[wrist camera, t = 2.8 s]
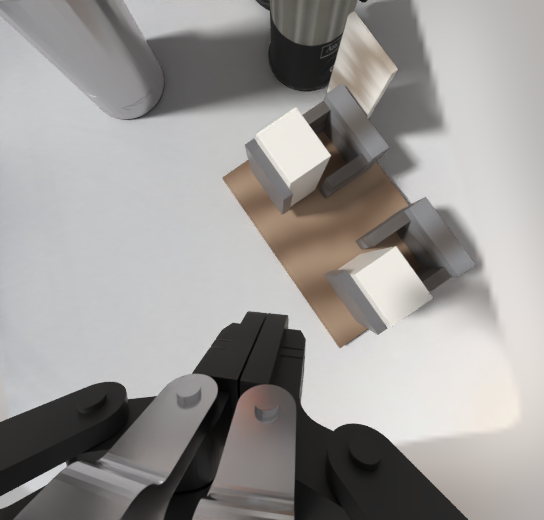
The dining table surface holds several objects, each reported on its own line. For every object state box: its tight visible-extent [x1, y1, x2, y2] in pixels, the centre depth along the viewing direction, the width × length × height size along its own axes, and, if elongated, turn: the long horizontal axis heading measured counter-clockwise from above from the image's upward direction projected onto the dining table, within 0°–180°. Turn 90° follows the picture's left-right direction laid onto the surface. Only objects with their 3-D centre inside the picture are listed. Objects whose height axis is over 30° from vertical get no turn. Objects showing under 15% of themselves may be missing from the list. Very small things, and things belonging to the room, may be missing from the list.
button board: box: [223, 11, 475, 348], centre depth 26 cm, size 25×16×11 cm, turn 35°
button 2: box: [245, 107, 331, 215], centre depth 26 cm, size 6×5×9 cm
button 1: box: [324, 246, 433, 335], centre depth 25 cm, size 6×5×9 cm
